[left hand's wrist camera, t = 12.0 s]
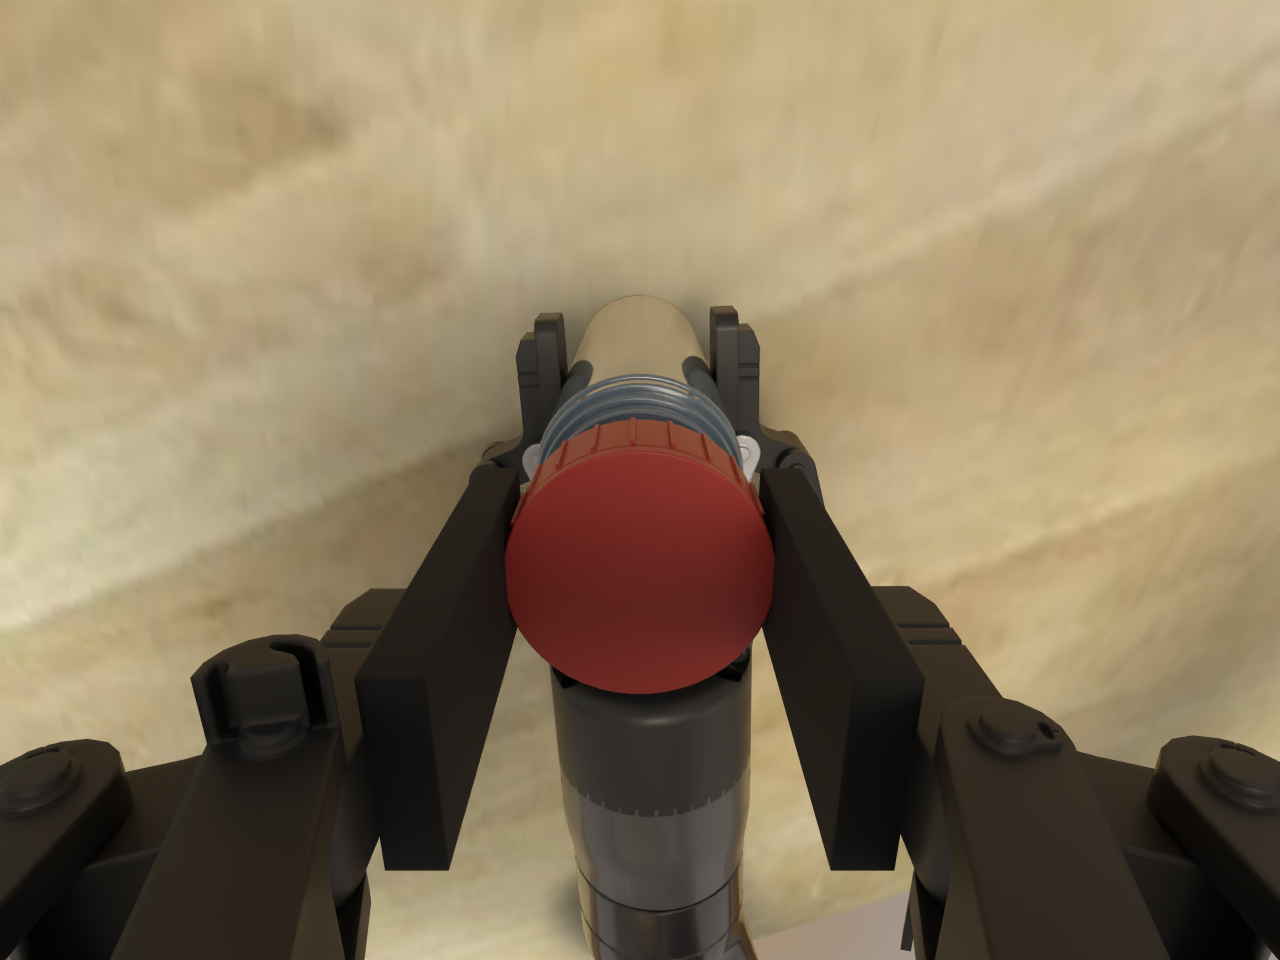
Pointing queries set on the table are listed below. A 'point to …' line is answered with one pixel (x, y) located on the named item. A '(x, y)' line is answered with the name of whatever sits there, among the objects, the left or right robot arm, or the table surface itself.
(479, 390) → the table surface
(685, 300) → the table surface
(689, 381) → the bottle
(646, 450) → the cap
